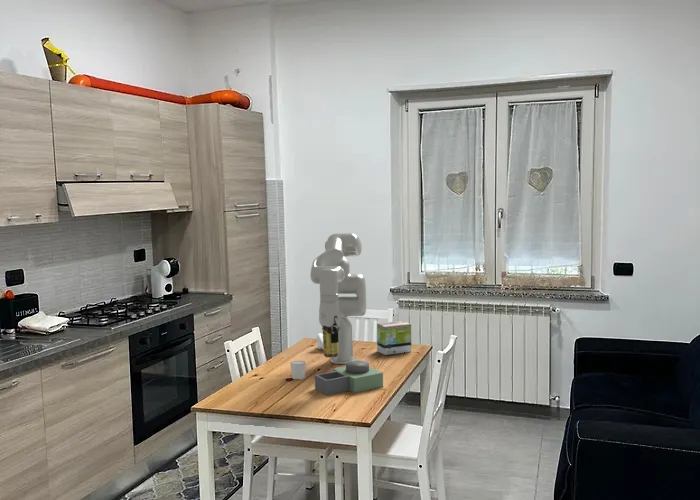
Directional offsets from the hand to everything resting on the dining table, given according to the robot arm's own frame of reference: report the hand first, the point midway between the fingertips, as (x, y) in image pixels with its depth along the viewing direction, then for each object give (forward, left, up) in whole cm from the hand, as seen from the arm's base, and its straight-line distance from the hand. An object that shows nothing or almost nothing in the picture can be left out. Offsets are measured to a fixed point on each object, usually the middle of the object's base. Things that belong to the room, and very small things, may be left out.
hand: (330, 340), depth 267 cm
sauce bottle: (0, 0, -7) cm, 7 cm away
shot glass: (-24, -4, -21) cm, 32 cm away
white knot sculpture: (-61, +31, -21) cm, 72 cm away
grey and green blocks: (0, +7, -21) cm, 22 cm away
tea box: (-36, +56, -21) cm, 70 cm away
